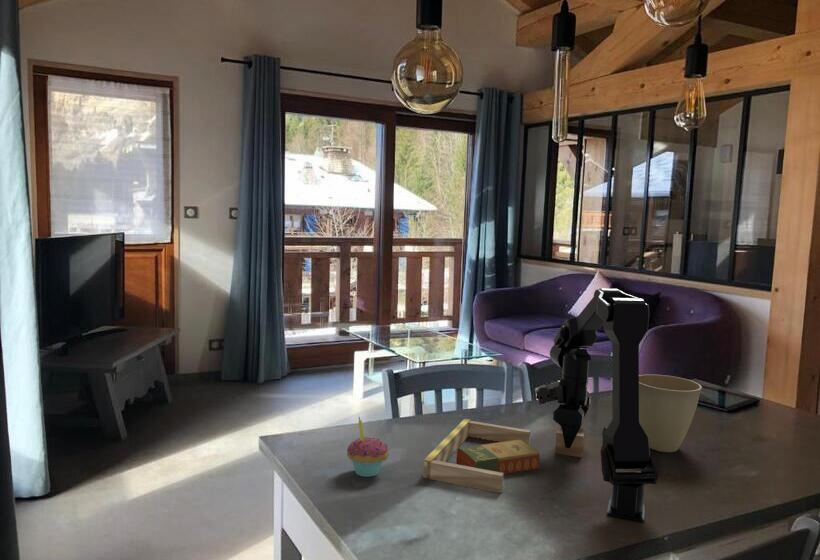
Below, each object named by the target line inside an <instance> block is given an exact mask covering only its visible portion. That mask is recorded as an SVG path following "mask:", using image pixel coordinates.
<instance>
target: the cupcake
mask: <svg viewBox="0 0 820 560" xmlns="http://www.w3.org/2000/svg"><path fill="white" fill-rule="evenodd" d="M363 428H364V427H363V422H362V419H361V418H360V416H358V429H359V435H360V438H358V439H357V438H356V439H355V440H352V441H351V443H350V444H349V445H348V446H347V451H346V456H347V457H348V458H349V460H351V462H352V465H353V468H354V472H355V474H356V475H357V476H360V477H364V478H365V477H366V478H370V477H374V476H376V475H378V474H379V471H380V468H381V466H382V463H383V462H384V461H386V460H387V459H388V457H389V448H388V446H387V444H386V443H385V442H384V441H382V440H381V439H379V438H377V437H368V436H366V437H365V435H364V430H363Z"/></svg>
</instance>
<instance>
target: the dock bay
mask: <svg viewBox="0 0 820 560" xmlns="http://www.w3.org/2000/svg"><path fill="white" fill-rule="evenodd" d="M531 433H532V432H531V430H530V429H524V428H517V427H512V426H505V425H499V424H494V423H493V424H492V423H487V422H486V423H485V422H482V421H481V422H480V421H473V420H471V419H468V418H464V419H463V420H462V421H461V422H460V423H459V424H458V425H457V426H456V427H455V428H454V429H453V430H452V431H451V432H450V433H449V434H448V435H447V436H446V437H445V438H444V439H443V440H441V442H440V443H439V444H438V445H437V446H436V447H435V448H434V449H433V450H432V451H431V452H430V453H429V454H428V455H427V456H426V457H425V458H424V459H423V470H422V471H423V475H422V476H423V478H424V479H427V480H434V481H438V482H443V483H448V484H453V485H458V486H464V487H468V488H473V489H474V488H475V489H479V490H484V491H487V492H488V491H489V492H494V493H499V494H502V492H503V490H504V478H505V477H504V475H505V474H504V473H501V472H495V471H490V470H484V469H479V468H474V467H468V466H463V465H458V464H456V463H452V462H451V463H450V462H447V459H450V457H451V456H452V455H454V453H455V452H457V450H458V448H459V447H460V446H462V444H463V443H464V442H465V441H466V440H467V438H468V437H469V438H474V439H475V437H476V439H479V438H481V439H480V440H485V439H486V440H485V441H491V440H492V442H497V441H498V442H504V441H511V440H521V441H523V442H525V443H526V444H528V445H530V446H531ZM456 449H457V450H456Z"/></svg>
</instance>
